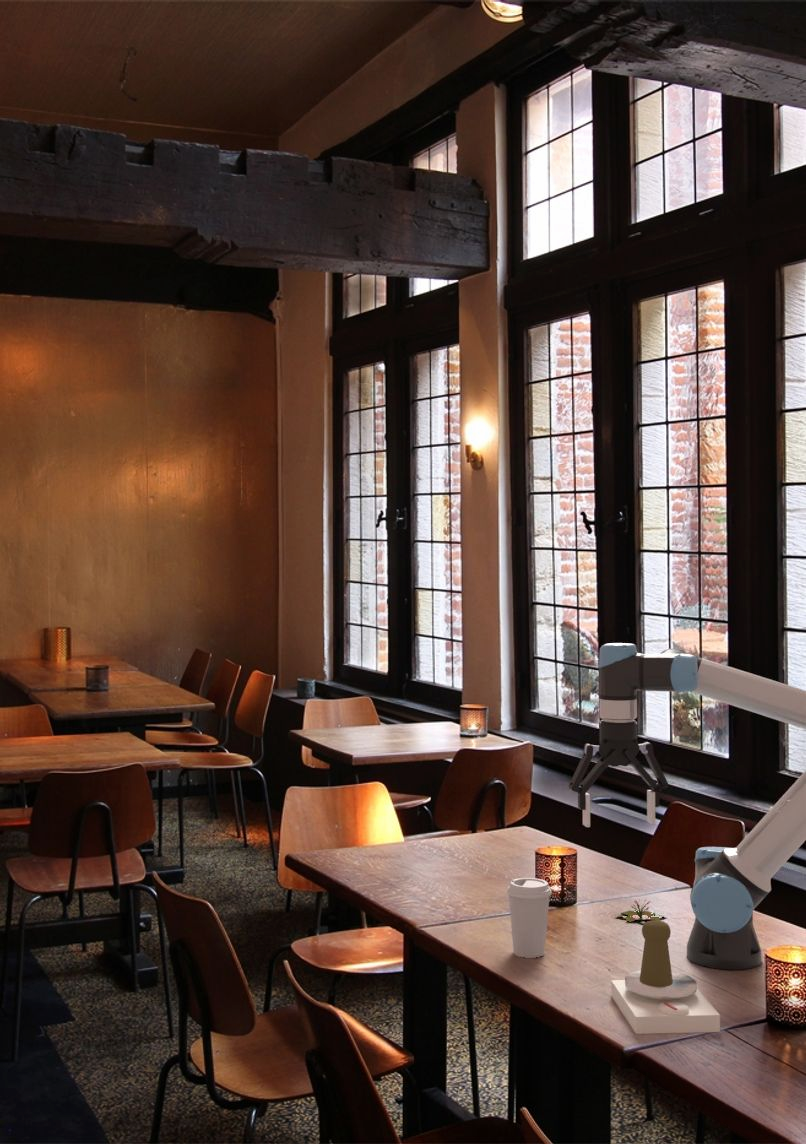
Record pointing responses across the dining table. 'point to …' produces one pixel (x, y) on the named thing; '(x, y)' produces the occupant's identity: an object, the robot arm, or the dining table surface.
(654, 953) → the cork
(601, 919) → the dining table surface
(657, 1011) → the scale base
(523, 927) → the coffee cup
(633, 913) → the lily flower
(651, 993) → the pan
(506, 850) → the dining table surface
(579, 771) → the robot arm
